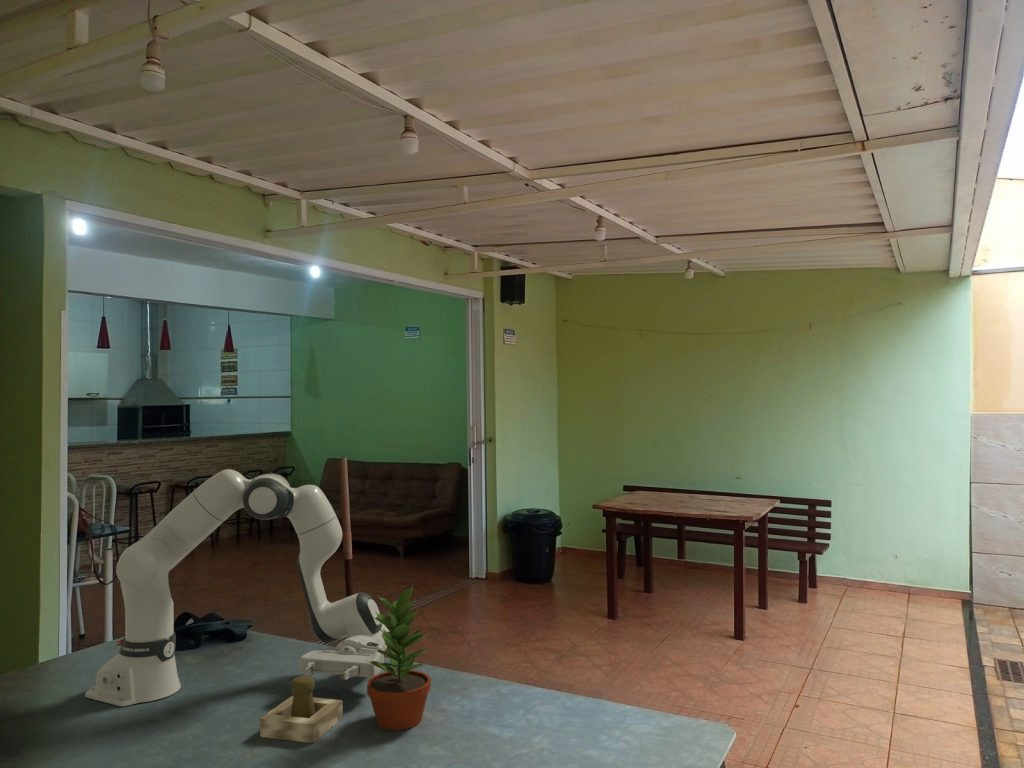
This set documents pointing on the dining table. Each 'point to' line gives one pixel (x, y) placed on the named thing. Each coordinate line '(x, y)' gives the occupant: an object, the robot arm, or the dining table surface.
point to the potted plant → (399, 670)
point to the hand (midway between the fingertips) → (325, 674)
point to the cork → (302, 697)
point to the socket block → (301, 721)
